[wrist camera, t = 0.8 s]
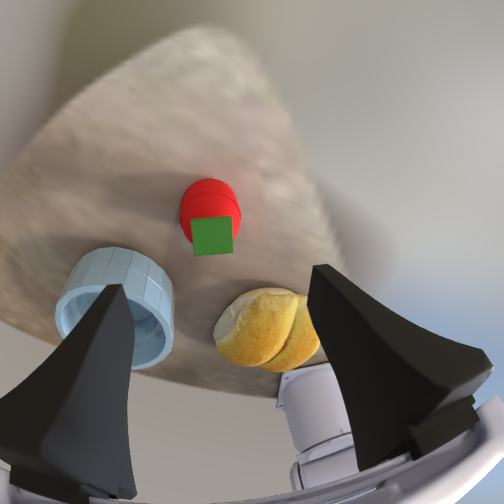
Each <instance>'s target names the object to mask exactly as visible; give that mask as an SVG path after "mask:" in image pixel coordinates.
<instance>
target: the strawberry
mask: <svg viewBox="0 0 504 504" xmlns="http://www.w3.org/2000/svg"><path fill="white" fill-rule="evenodd" d="M240 221H241V213H240V209H239V206H238V203H237V200H236V197H235V194H234V192H233V190H232V189H231V188H230V187H229V186H228V185H227V184H225V183H224V182H222V181H219V180H215V179H205V180H201V181H198V182H196V183H194V184H193V185H191V186H190V187H189V188H188V189H187V190H186V192H185V193H184V195H183V198H182V203H181V212H180V223H181V227H182V229H183V231H184V234H185V236H186V237H187V239H188V240H189V241H190V242H191V243H192V244H193V249H194V256H203V255H215V254H226V253H233V239H234V238H235V236H236V234H237V232H238V230H239V226H240Z"/></svg>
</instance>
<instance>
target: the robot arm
mask: <svg viewBox="0 0 504 504" xmlns="http://www.w3.org/2000/svg"><path fill="white" fill-rule="evenodd" d="M306 305H307V308H308V312H309V315H310V318H311V321H312V325H313V327H314V330H315V332H316V334H317V336H318V338H319V341H320V343H321V345H322V347H323V349H324V351H325V354H326V356H327V358H328V360H329V363H325V364H320V365H315V366H310V367H305V368H300V369H295V370H289V371H285V372H283V373H282V376H281V382H280V387H279V393H278V399H277V404H276V410H278V411H279V410H284V411H285V414H286V418H287V422H288V425H289V429H290V432H291V436H292V439H293V443H294V445H295V447H296V449H297V450H298V451H299V452H300V454H298V455H297V459H298V462H295V463H294V464H293V467H292V468H291V471H290V479H291V485H292V489H293V492H290V493H285V494H280V495H275V496H270V497H264V498H258V499H251V500H244V501H235V502H226V503H212V504H333V503H336V502H339V501H341V500H344V499H347V498H350V497H353V496H355V495H358V494H361V493H363V492H366V491H368V490H371V489H373V488H375V487H377V488H376V490H374V491H372V492H370V493H368V494H365V495H363V496H360V497H357V498H355V499H352V500H349V501H347V502H344V503H341V504H454V503H455V502H457V501H458V500H459V499H460V498H461V497H462V496H464V495H465V494H466V493H467V492H468V491H469V490H470V489H471V488H473V487H474V486H475V485H476V484H477V483H478V482H479V481H480V480H481V479H482V478H483V477H484V476H485V475H486V474H487V473H488V472H489V471H490V470H491V469H492V468H493V467H494V466H495V465H496V464H497V463H498V462H499V460H501V459H502V458H503V457H504V405H503V403H502V401H501V400H500V398H499V397H498V395H494V396H493V397H492V398H490V399H489V400H488V401H487V402H485V403H484V404H482V405H481V406H480V407H478V408H477V409H476V410H474V408H473V406H472V405H473V404H474V403H475V399H474V397H473V396H472V395H473V393H475V391H476V390H477V389H478V388H479V387H480V386H481V385H482V384H483V383H484V382H485V381H486V379H487V378H488V377H489V375H490V374H491V373H492V371H493V365H492V363H491V362H490V360H489V359H488V357H487V356H486V354H485V353H484V351H483V350H482V349H479V348H475V347H471V346H468V345H464V344H461V343H458V342H455V341H452V340H449V339H447V338H444V337H441V336H439V335H437V334H434V333H432V332H430V331H428V330H426V329H424V328H422V327H419V326H417V325H416V324H414V323H412V322H410V321H408V320H407V319H405V318H403V317H401V316H400V315H398V314H396V313H395V312H393V311H391V310H390V309H388V308H387V307H385V306H384V305H382V304H381V303H379V302H378V301H377V300H375V299H374V298H372V297H371V296H370V295H368V294H367V293H365V292H364V291H363V290H361V289H360V288H359V287H358V286H356V285H355V284H354V283H352V282H351V281H350V280H348V279H347V278H346V277H345V276H343V275H342V274H341V273H339V272H338V271H337V270H335V269H334V268H333V267H331V266H330V265H328V264H322V265H313V269H312V275H311V281H310V287H309V293H308V299H307V304H306ZM134 343H135V320H134V317H133V315H132V312H131V309H130V306H129V303H128V300H127V297H126V294H125V291H124V288H123V285H122V283H121V284H108V285H107V286H106V287H105V288H104V289H103V290H102V292H101V293H100V294H99V296H98V297H97V298H96V299H95V301H94V302H93V303H92V305H91V306H90V307H89V309H88V310H87V311H86V313H85V314H84V315H83V317H82V318H81V319H80V321H79V322H78V323H77V324H76V326H75V327H74V328H73V329H72V330H71V332H70V333H69V334H68V335H67V337H66V338H65V339H64V340H63V342H62V343H61V344H60V345H59V346H58V347H57V348H56V349H55V351H54V352H53V353H52V354H51V355H50V356H49V357H48V358H47V359H46V360H45V361H44V362H43V363H42V364H41V365H40V366H39V367H38V368H37V369H36V370H35V371H34V372H32V373H31V374H30V375H29V376H28V377H27V378H26V379H25V380H24V381H23V382H21V383H20V384H19V385H18V386H17V387H15V388H14V389H13V390H11V391H10V392H9V393H8V394H6V395H5V396H3V397H2V398H1V399H0V459H1V460H3V461H4V462H6V463H8V464H9V465H11V471H8V470H5V469H3V468H1V467H0V504H145V503H133V502H123V501H114V500H109V498H110V499H118V498H119V499H128V500H131V499H133V498H134V497H135V496H136V495H137V491H136V486H135V481H134V476H133V471H132V465H131V458H130V449H129V438H128V423H127V422H128V421H127V420H128V419H127V399H128V389H129V381H130V373H131V366H132V359H133V352H134Z"/></svg>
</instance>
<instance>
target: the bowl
mask: <svg viewBox="0 0 504 504" xmlns="http://www.w3.org/2000/svg"><path fill="white" fill-rule="evenodd" d="M121 283H122V285H123V288H124V291H125V294H126V297H127V300H128V303H129V306H130V309H131V312H132V315H133V317H134V320H135V343H134V352H133V359H132V366H131V370H139V369H143V368H147V367H151V366H153V365H155V364H157V363H158V362H160V361H162V360H163V359H164V358H165V357H166V356H167V354H168V353H169V352H170V351H171V348H172V343H173V338H174V305H175V295H174V290H173V285H172V282H171V281H170V279H169V278H168V276H167V274H166V273H165V271H164V270H163V269H162V268H161V267H160V266H159V265H158V264H156V263H155V262H154V261H153V260H152V259H150V258H149V257H147V256H145V255H143V254H141V253H139V252H136V251H133V250H130V249H125V248H120V247H106V248H99V249H96V250H94V251H92V252H89V253H87V254H85V255H84V256H83V257H82V258H81V259H80V260H79V261H78V262H77V263H76V265H75V266H74V268H73V270H72V272H71V274H70V276H69V278H68V280H67V283H66V285H65V287H64V289H63V291H62V293H61V296H60V298H59V300H58V302H57V306H56V310H55V314H54V316H55V321H56V326H57V329H58V331H59V333H60V335H61V336H62V338H63V340H64V339H65V338H66V337H67V335H68V334H69V333H70V332H71V330H72V329H73V328H74V327H75V326H76V324H77V323H78V322H79V321H80V319H81V318H82V317H83V315H84V314H85V313H86V311H87V310H88V309H89V307H90V306H91V305H92V303H93V302H94V301H95V299H96V298H97V297H98V296H99V294H100V293H101V292H102V290H103V289H104V288H105V287H106V286H107V285H108V284H121Z"/></svg>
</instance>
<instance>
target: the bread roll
mask: <svg viewBox="0 0 504 504" xmlns="http://www.w3.org/2000/svg"><path fill="white" fill-rule="evenodd" d="M307 299H308V297H306V296H304V295H301V294H295V293H293V292H292V291H289V290H287V289H282V288H270V287H269V288H260V289H255V290H251V291H249V292H247V293H245V294H242V295H240V296H239V297H238V298H237V299H236V300H235V301H234V302H233V303H232V304H231V305H230V306H228V307H227V308H226V309H225V311H224V312H223V314H222V315H221V317H220V318H219V320H218V321H217V323H216V325H215V328H214V332H213V338H214V340H215V342H216V347H217V350H218V352H219V353H220V354H221V355H222V356H223V358H225V359H226V360H227V361H229V362H231V363H233V364H236V365H241V366H247V367H251V366H257V367H259V368H260V369H262V370H265V371H269V372H276V373H277V372H285V371H288V370H291V369H293V368H296V367H298V366H300V365H302V364H303V363H304V362H306V361H307V360H308V359H309V358H310V357H311V356H312V355H313V354H314V353H315V352H316V351H317V349H318V347H319V345H320V341H319V338H318V336H317V334H316V332H315V330H314V327H313V325H312V321H311V318H310V315H309V312H308V308H307V305H306V304H307Z"/></svg>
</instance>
